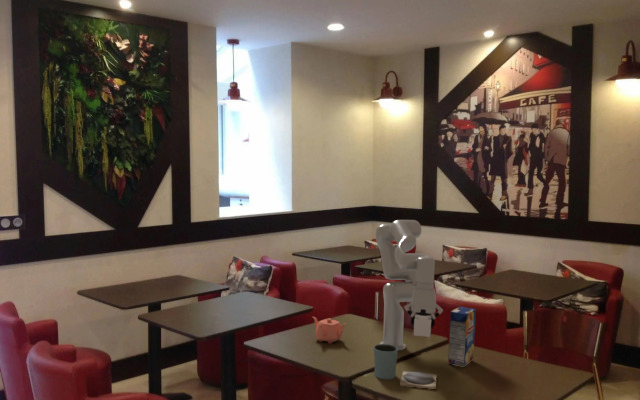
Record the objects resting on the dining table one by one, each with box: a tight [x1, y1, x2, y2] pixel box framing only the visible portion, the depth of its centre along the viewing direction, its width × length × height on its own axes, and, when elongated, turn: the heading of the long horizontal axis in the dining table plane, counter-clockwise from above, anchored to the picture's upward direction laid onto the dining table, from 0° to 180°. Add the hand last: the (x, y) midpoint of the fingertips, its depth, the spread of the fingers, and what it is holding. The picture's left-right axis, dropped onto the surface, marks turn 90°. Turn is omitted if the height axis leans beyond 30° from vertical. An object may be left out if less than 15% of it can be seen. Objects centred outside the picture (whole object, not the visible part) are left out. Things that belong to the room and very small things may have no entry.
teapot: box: [312, 316, 347, 344], centre depth 290 cm, size 14×14×11 cm
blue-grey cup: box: [373, 343, 399, 381], centre depth 246 cm, size 10×10×12 cm
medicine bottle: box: [413, 309, 432, 338], centre depth 250 cm, size 7×7×12 cm
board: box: [399, 370, 438, 390], centre depth 241 cm, size 14×14×2 cm
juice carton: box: [447, 306, 477, 366], centre depth 264 cm, size 12×8×24 cm, turn 147°
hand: (422, 326), depth 250 cm, fingers closed on medicine bottle, 7 cm apart
